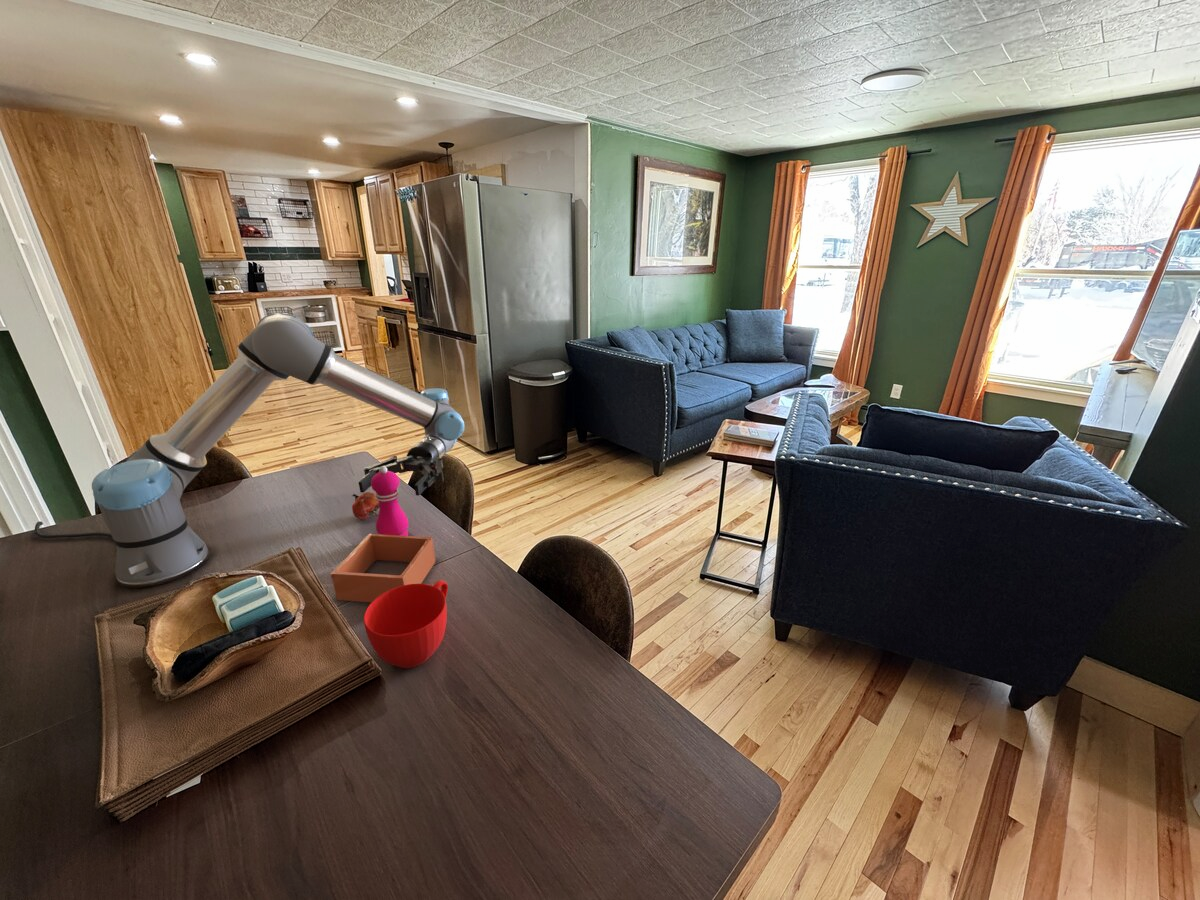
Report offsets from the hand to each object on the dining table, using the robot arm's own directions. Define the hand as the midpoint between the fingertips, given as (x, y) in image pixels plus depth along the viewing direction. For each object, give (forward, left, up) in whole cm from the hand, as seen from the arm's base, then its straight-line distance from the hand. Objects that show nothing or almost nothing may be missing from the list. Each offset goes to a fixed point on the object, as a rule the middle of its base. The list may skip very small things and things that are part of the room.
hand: (388, 489), depth 111 cm
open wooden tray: (+10, -13, -14) cm, 22 cm away
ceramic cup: (+29, -25, -14) cm, 41 cm away
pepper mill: (0, -1, -14) cm, 14 cm away
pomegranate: (-14, +5, -14) cm, 20 cm away
